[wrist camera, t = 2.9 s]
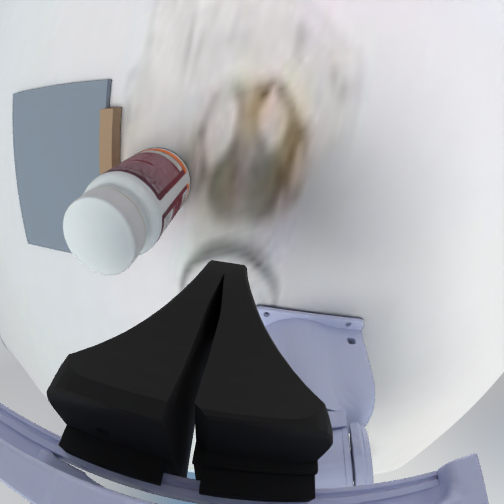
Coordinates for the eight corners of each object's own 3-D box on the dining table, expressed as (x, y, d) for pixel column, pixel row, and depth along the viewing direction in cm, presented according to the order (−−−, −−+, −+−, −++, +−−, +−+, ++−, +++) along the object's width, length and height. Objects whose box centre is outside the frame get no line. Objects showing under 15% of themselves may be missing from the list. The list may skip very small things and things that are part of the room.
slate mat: (124, 78, 15) (115, 78, 14) (124, 260, 22) (118, 268, 21) (16, 93, 15) (7, 95, 14) (30, 240, 22) (23, 247, 21)
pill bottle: (119, 157, 18) (42, 202, 11) (181, 138, 17) (120, 175, 10) (139, 218, 20) (81, 286, 13) (199, 206, 20) (158, 278, 13)
